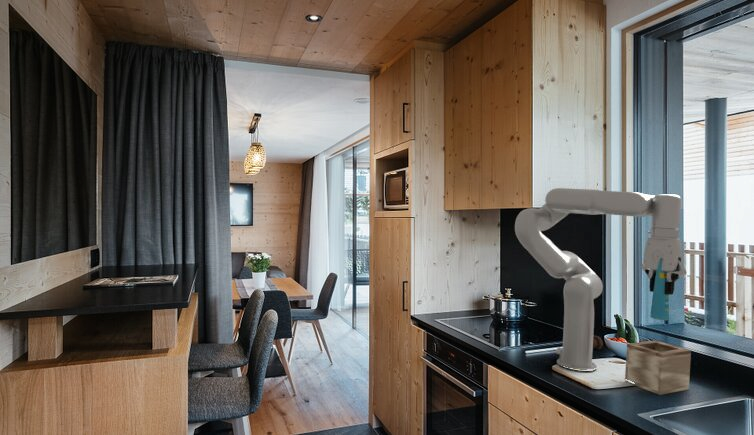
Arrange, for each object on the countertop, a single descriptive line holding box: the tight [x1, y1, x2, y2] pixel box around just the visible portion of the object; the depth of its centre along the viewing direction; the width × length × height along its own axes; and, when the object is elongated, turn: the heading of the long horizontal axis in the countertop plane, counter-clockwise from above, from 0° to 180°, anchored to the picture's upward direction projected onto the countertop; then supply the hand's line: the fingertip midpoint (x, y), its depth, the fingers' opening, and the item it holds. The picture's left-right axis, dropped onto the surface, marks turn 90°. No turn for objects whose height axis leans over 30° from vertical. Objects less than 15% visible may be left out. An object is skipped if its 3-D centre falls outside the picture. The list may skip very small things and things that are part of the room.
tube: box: [649, 258, 670, 321], centre depth 149 cm, size 7×5×19 cm, turn 140°
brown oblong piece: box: [593, 334, 604, 351], centre depth 186 cm, size 6×5×15 cm
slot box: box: [624, 340, 692, 396], centre depth 150 cm, size 12×14×12 cm
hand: (661, 292), depth 149 cm, fingers closed on tube, 4 cm apart
